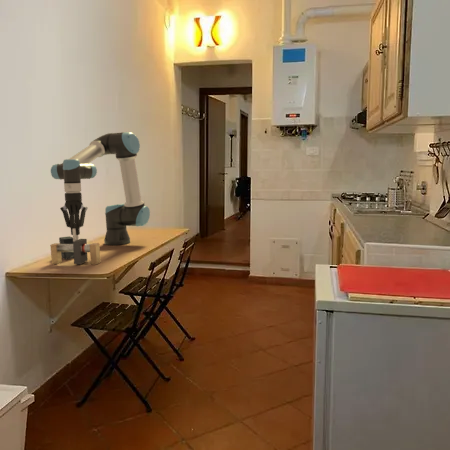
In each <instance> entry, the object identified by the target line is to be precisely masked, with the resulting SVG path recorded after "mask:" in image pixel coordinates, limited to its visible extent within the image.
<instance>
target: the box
mask: <svg viewBox="0 0 450 450" xmlns="http://www.w3.org/2000/svg"><path fill="white" fill-rule="evenodd" d="M58 240H59V242H58V243H60V244H73V236H61V237H59V238H58ZM61 257H62V259H63V260H71V259H73V260H74V252H61Z"/></svg>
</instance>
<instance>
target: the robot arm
mask: <svg viewBox="0 0 450 450" xmlns="http://www.w3.org/2000/svg"><path fill="white" fill-rule="evenodd" d="M140 147H141V145H140V141H139V138H138V136H137V135H136V134H135V133H133V132H131V131H129V132H127V131H125V132H124V131H122V132H111V133H109V132H108V133H105V134H103V135H101V136H98V137H97V138H95V139H93V140H92V141H90V143H89V144H88V146H87V147H84V149H82V150H80V151H79V152H78V153H76V154H74V155H73V156H71V157H70V158H66V159H63V161H62V163H57V164H56V163H55V164H53V165H52V166H51V168H50V176H51V177H52V178H53V179H55V180H61V181H62V180H63V189H64V192H65V193H64V200H65V203H64V205H63V206H60V210H61V212H62V214H63V218H64V221H65V226H66V228H69V229H70V235H71V236H72V237H73V241H76V240H79V235H81V234H80V233H81V231H80V228H82V227H84V224H85V219H86V218H85V217H86V212H87V210H88V207H87V206H85V205H84V204H83V202H82V201H83V199H82V198H83V196H82V183H81V182H82V180H88V179H89V180H90V179H93V178H95V177H96V175H97V173H98V169H97V167H96V165H95V164H93V163H92V162H93V161H95V159H97V158H102V157H103V156H107V155H115V159H116V160H117V161H119V167H120V172H121V178H122V179H121V180H122V184H123V192H124V197H125V203H119V204H113V205H107V206H106V207H105V212H104V214H105V226H106V228H105V229H106V231H105V236H104V240H103V241H104V245H106V246H118V245H119V246H120V245H127V244H130V243H131V237H130V235H129V233H128V230H127V227H144V226H146V225H147V224H148V223H149V220H150V216H151V214H150V213H151V211H150V208H149V207H148V206H147V205H145V201H144V200H142V196H141V191H140V185H139V178H138V172H137V163H136V158H137V156H138V153H139V152H140Z"/></svg>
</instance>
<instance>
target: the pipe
mask: <svg viewBox="0 0 450 450" xmlns="http://www.w3.org/2000/svg"><path fill="white" fill-rule="evenodd" d="M80 247H81V252H87V253H89V254H90V265H98V264H101V262H102V261H101V249H100V243H99V242H94V243H87V244H82V245H80ZM61 252H74V251H73V244H60V242H55V243H51V244H50V255H51V256H50V257H51V265H59V264H62V263H63V260H62V259H63V258H62V257H61Z"/></svg>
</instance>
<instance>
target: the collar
mask: <svg viewBox="0 0 450 450" xmlns="http://www.w3.org/2000/svg"><path fill="white" fill-rule="evenodd" d="M82 244H88V240H87V238H78V240H76V241H73V251H74V258H73V265H83V263H84V264H85V263H87V262H88V252H81V247H80V245H82Z"/></svg>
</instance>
